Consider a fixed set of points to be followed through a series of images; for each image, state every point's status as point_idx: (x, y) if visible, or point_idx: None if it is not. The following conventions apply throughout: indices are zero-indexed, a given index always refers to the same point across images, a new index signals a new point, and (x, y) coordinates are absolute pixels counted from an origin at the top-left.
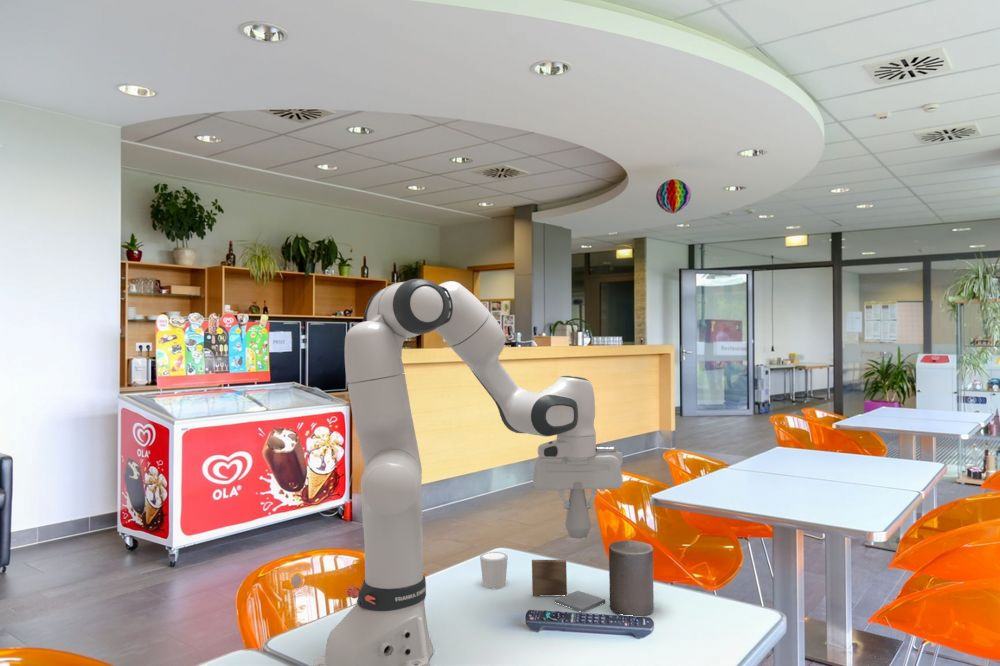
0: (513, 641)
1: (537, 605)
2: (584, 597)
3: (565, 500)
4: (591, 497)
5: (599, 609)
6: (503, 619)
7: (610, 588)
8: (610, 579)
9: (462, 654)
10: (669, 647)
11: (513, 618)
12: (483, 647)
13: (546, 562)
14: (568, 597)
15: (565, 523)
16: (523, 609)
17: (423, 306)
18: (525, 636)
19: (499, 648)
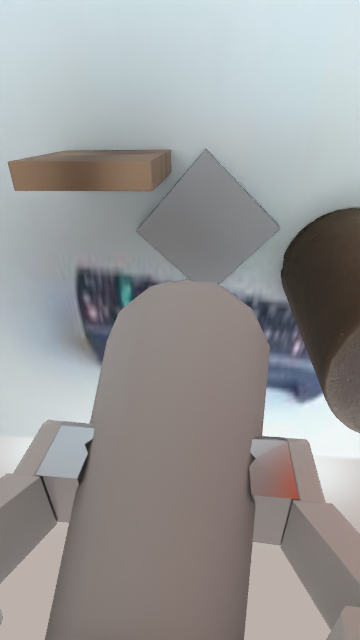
0: (78, 399)
1: (94, 242)
2: (221, 214)
3: (47, 532)
4: (311, 587)
5: (253, 270)
6: (35, 318)
7: (291, 304)
8: (297, 319)
9: (14, 428)
10: (345, 432)
11: (54, 314)
12: (37, 413)
13: (73, 190)
14: (174, 213)
15: (106, 345)
16: (65, 266)
17: None
18: (95, 385)
19: (62, 417)
